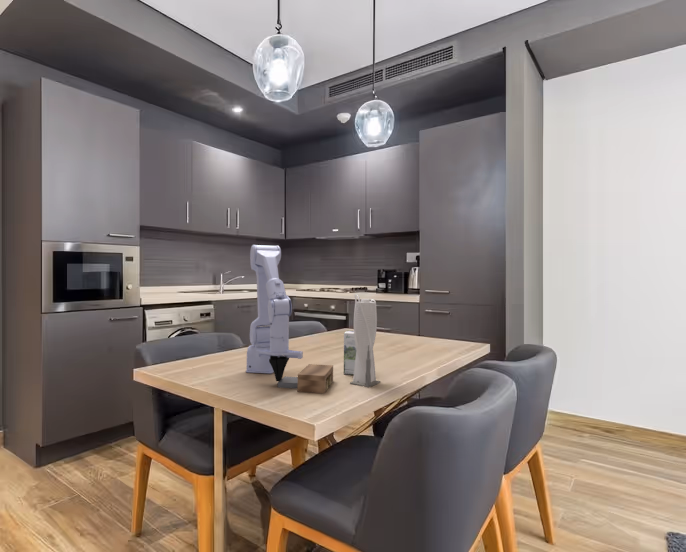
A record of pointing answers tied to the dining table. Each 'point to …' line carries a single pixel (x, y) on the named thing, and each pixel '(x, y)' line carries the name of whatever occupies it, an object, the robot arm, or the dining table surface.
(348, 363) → the syrup box
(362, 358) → the skyscraper
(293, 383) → the slate tile
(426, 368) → the dining table surface
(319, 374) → the walnut shelf bridge
